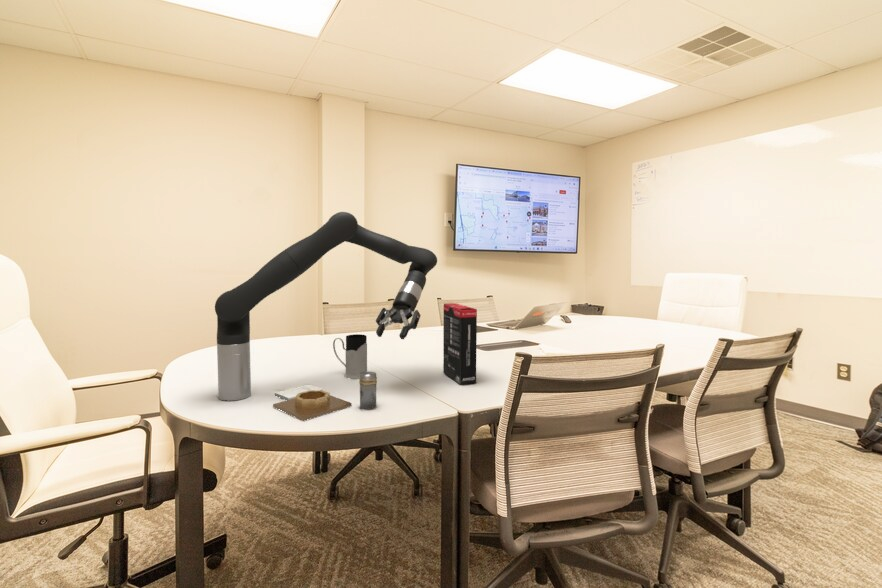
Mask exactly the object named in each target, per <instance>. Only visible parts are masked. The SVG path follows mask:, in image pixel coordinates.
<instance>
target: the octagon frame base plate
mask: <svg viewBox="0 0 882 588" xmlns="http://www.w3.org/2000/svg"><path fill="white" fill-rule="evenodd" d="M330 394H331V393H330V392H327V391H325V390H309V391H305V392H301V393H298V394H297V395H296V397H295V398H294V399H290V400H287V401H286V400H283V401H279V402H275V403H272V408H273V407H275V408H274V409H276V408H277V409H276V410H278V409H280V410H282V411H284V412H286V413H285V414H287V413H288V414H287V415H289V414H290V415H289V416H291V415H292V417H293V416H295V417H296V418H295V417H294V418H295V419H298V420H299V421H302V420H303V421H302V422H305V421H304V420H306V421H308V420H307V419H309V420H311V419H310V418H312V419H315V418H318V417H317V416H319V417H321V416H320V415H322V416H324V415H323V414H325V415H327V413H328V414H331V413H334V412H333V411H335V412H337V410H338V411H340V409H341V410H344V409H347V407H348V408H350V406H351V407H352V405H353V404H352V402H350V401H347V400H345V399H342V398H339V397H336V396H333V395H332V394H331V395H330ZM280 410H279V411H280ZM282 411H281V412H282ZM284 412H283V413H284ZM330 412H331V413H330ZM314 417H315V418H314Z"/></svg>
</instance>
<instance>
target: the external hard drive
mask: <svg viewBox="0 0 882 588" xmlns="http://www.w3.org/2000/svg"><path fill="white" fill-rule="evenodd" d="M309 390H323V388H321V387H319V386H315V385H311V384H305V385H301V386H298V387H292V388H289V389H284V390H280V391H277V392H274V395H275V396H274V395H273V396H274V397H276V396H277V397H276V398H279V397H280V398H279V399H281V398H282V399H281V400H284V399H285V400H284V401H286V400H290V399H294V398H295V397H296V395H297V394H298V393H301V392H305V391H309ZM323 391H324V390H323Z"/></svg>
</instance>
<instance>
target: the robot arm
mask: <svg viewBox="0 0 882 588" xmlns="http://www.w3.org/2000/svg"><path fill="white" fill-rule="evenodd" d="M344 242H346V243H350V244H354V245H357V246H360V247H363V248H365V249H368V250H370V251H371V252H374V253H377V254H378V255H380V256H382V257H385V258H387V259H388V260H389V259H390V260H391V261H394V262H396V263H398V264H401V265H406V264H408V263H410V265H409V268H408V272H407V275H406V276H405V279H404V281H403V283H402V285H401V286H400V288H399V289H398V291H397V293H396V296H395V298H394V300H393V302H392V306H391V308H390V309H386V308H385V307H382V308H381V310H380V312H379V314H378V315H377V317H376V319H375V323H376V324H377V326H378V327H377V329H376V331H375V333H376V335H377V337H378V338H382V336H383V334H384V332H385V329H386V328H387V327H388V326H392V324H402V325H404V326H402V328H401V330H400V333H399V334H398V335H399V338H400V340H405V339H406V338H407V335H408V333H409V331H410V330H411V329H412V330H416V329H417V327H418V324H419V322H420V319H421V314H420V311H419V310H418V309H416V307H417V306H418V303H419V300H420V298H421V295H422V292H423V290H424V289H425V288H424V287H426V283H427V277H426V276H427V275H428V274H429V272H430V271H432V270H433V269H435V267H436V265H437V264H438V257H437V255H436V253H434V252H433V251H431V250H430V249H428V248H424V247H420V246H413V245H408V244H407V243H404V242H402V241H400V240H398V239H396V238H394V237H393V238H392V237H389V236H387V235H384V234H381V233H377V232H375V231H372V230H371V229H367V228H366V227H364V226H361V225H360V224H359V223H358V220H357V218H356V217H355V216H354V215H353V214H352V213H350V212H347V211H339V212H336V213H335V214H333V215H332V216H330V217H329V219H328V220H327V221H326V222H325V223H324V224H323V225H322V226H321V227H319V228H318V229H317V230H316V231H315V232H313V233H311V234H310V235H308V236H306V237H304V238H302V239H301V240H298V241H297V242H295V243H293V244H291V245H290V246H288V247H287V248H285V249H283V250H282V251H281V252H280V253H277V254H276V255H275V256H274V257H272V258H271V259H270V260H269V261H267V262H266V264H264V265H263V266H262V267H260V269H259V270H258V271H257V272H256V273H255V274H253V275H252V276H251V277H250V278H249V279H247V280H246V281H245V282H243V283H241V284H240V285H237V286H236V287H233V288H232V289H230V290H227V291H225V292H223V293H222V294H220V295H219V296H218V297H217V299H216V300H215V304H214V311H215V314H216V317H217V318H216V319H217V320H216V321H217V329H216V330H217V331H216V350H217V351H216V352H217V353H216V354H217V355H216V356H217V387H218V390H217V391H218V399H219V400H221V401H225V400H227V401H239V400H240V401H241V400H244V399H246V398H249V397H251V395H252V386H251V385H252V384H251V383H252V379H251V378H252V377H251V375H252V373H251V343H250V342H251V339H250V337H251V335H250V334H251V326H250V321H251V319H250V318H251V317H250V315H251V314H250V311H252V310H253V309H254V308H255V307H256V306H258V304H259V303H261V302H262V301H263V300H265V299H266V298H267V297H269V296H270V295H272V294H273V293H276V292H277V291H279V290H281V289H282V288H284V287H286V286H287V285H289V284H290V283H291V282H293V281H294V280H296V279H297V278H299V277H300V276H301V275H303V274H304V273H305V272H306V271H308V270H309V269H310V268H311V267H313V266H314V265H315V264H316V263H317V262H318V261H319V260H321V259H322V258H323V257H324V256H325V255H326V254H327V253H329V252H330V251H331V250H333V249H334V248H336V247H338V246H339V245H342V244H343V243H344ZM409 319H410V320H411V321H409Z"/></svg>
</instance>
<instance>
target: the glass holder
mask: <svg viewBox="0 0 882 588" xmlns="http://www.w3.org/2000/svg"><path fill="white" fill-rule="evenodd" d="M337 340H339V341H341V343H342V349H343V350H344V351H345V363H344V361H342V360H341V358H340V356H339V355H338V353H337V350H336V344H335V342H336V341H337ZM332 348H333V352H334V354H335V357H336V358H337V359H338V361H339V362H340V363H341V364H342V365H343V366H344V367H345V374H344V378H345V377H346V378H345V379H348V378H350V379H351V380H359V377H360V373H362V372H368V342H367V335H365V334H362V333H361V334H357V333H356V334H348V335H345V342H344V340H343V339H342V338H341V337H336V338H335V339H334V340H333V342H332Z"/></svg>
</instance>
